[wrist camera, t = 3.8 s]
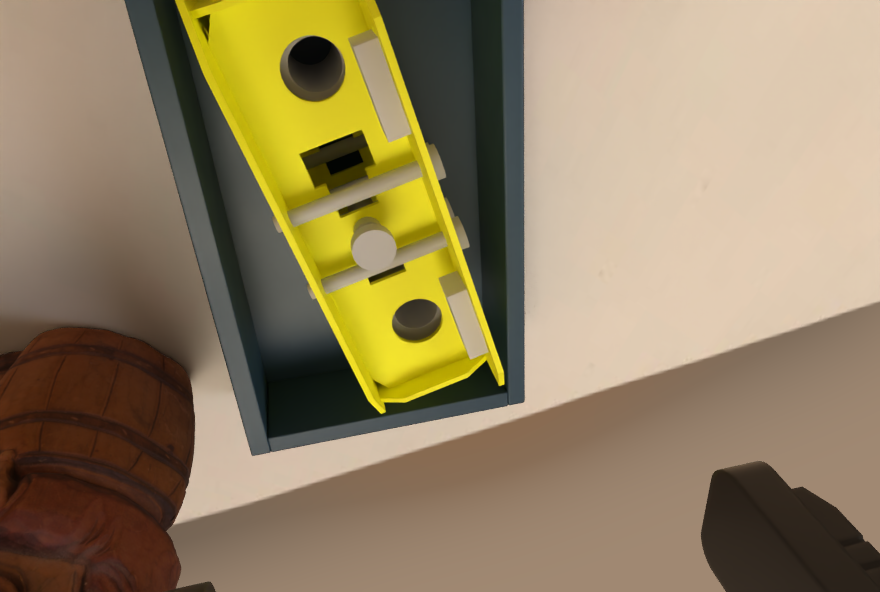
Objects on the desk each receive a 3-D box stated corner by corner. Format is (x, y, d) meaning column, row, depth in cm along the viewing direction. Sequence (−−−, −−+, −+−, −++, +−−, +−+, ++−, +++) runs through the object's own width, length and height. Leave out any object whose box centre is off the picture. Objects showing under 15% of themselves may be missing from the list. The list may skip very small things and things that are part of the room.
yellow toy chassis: (470, 293, 32) (528, 404, 25) (357, 338, 32) (383, 462, 24) (341, -77, 23) (373, -70, 16) (185, -17, 23) (149, 16, 16)
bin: (253, 394, 32) (251, 456, 29) (113, -144, 21) (80, -155, 18) (497, 350, 34) (525, 403, 30) (484, -168, 23) (524, -182, 19)
